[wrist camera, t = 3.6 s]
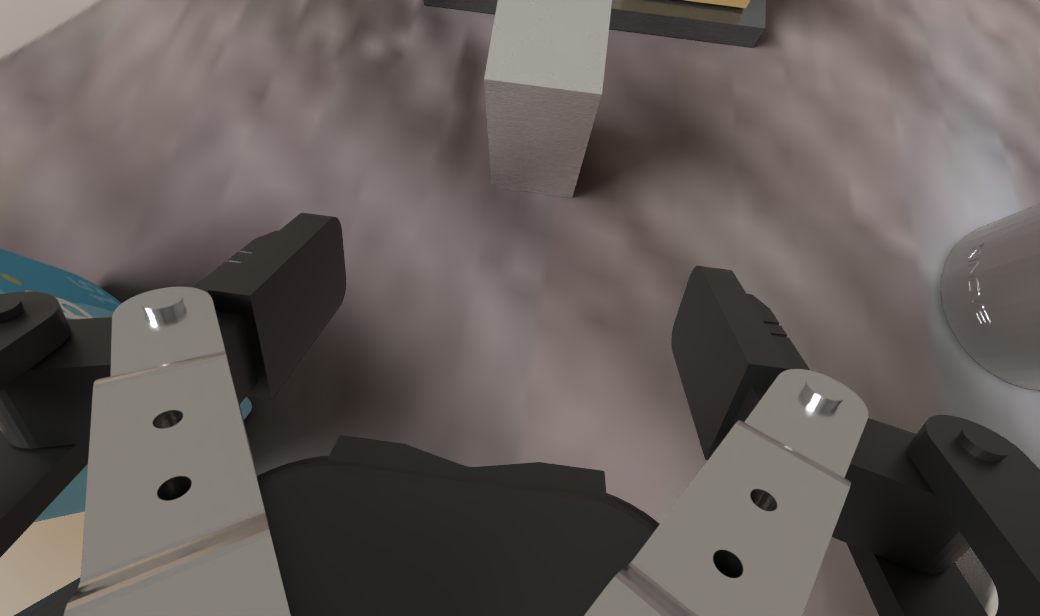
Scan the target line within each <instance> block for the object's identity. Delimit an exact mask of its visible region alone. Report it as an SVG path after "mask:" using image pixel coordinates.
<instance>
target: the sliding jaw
mask: <svg viewBox="0 0 1040 616" xmlns="http://www.w3.org/2000/svg"><path fill="white" fill-rule="evenodd" d="M686 1H693V2H701V3H709V4H717V5H724V6H732V7H740V8H746V7H747V5H748V4H749V2H750V0H686Z"/></svg>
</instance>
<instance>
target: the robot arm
mask: <svg viewBox="0 0 1040 616" xmlns="http://www.w3.org/2000/svg"><path fill="white" fill-rule="evenodd" d="M240 251H241V252H240V253H236V254H235V255H234V256H232V257H231V258H230V259H229V262H225V263H224V264H222V265H221V266H220V267H218V268H217V269H216V270H215V271H213V272H212V273H211V274H209V275H208V276H207V277H206V278H204V279H203V280H202V281H201V282H199V283H198V284H197V285H195V286H194V287H193V288H191V287H168V288H161V289H156V290H151V291H148V292H144V293H142V294H139V295H136V296H134V297H132V298H130V299H128V300H126V301H125V302H123V303H122V304H121V305H119V306H118V307H117V308H116V309H115V311H114V313H113V316H112V317H105V318H86V319H66V317H65V315H64V313H63V311H62V308H61V306H60V304H59V302H58V300H57V299H56V298H55V297H54V296H52V295H50V294H47V293H42V292H31V291H27V292H12V293H5V294H0V557H1V556H2V555H3V554H4V553H5V552H6V551H7V550H8V549H9V548H10V546H11V545H12V544H13V543H14V542H15V541H16V540H17V539H18V538H19V537H20V536H21V535H22V534H23V532H24V531H26V529H27V528H28V527H29V526H30V525H31V524H32V523H33V522H34V521H35V520H36V519H37V518H38V517H39V516H40V514H41V513H42V512H43V511H44V510H45V509H46V508H47V507H48V506H49V505H50V504H51V503H52V502H53V501H54V500H55V498H56V497H57V496H58V495H59V494H60V493H61V492H62V491H63V490H64V489H65V488H66V487H67V486H68V485H69V483H70V482H71V481H72V480H73V479H74V478H75V477H76V476H77V475H78V474H79V473H80V472H81V471H82V470H83V469H84V467H85V466H86V465H87V464H88V473H87V489H86V504H85V519H84V535H83V550H82V567H81V577H80V578H78V579H77V580H75V581H73V582H71V583H70V584H68V585H66V586H64V587H63V588H61V589H59V590H58V591H56V592H54V593H52V594H51V595H49V596H47V597H45V598H44V599H42V600H40V601H38V602H37V603H35V604H33V605H31V606H30V607H28V608H26V609H25V610H23V611H21V612H20V613H18V614H16V615H14V616H802V614H803V611H804V609H805V606H806V603H807V601H808V598H809V595H810V593H811V590H812V587H813V585H814V582H815V579H816V577H817V574H818V571H819V569H820V566H821V563H822V561H823V558H824V555H825V553H826V550H827V547H828V545H829V542H830V539H831V537H834V538H836V539H839V540H841V541H844V542H846V543H847V545H848V548H849V550H850V552H851V554H852V556H853V559H854V561H855V563H856V565H857V567H858V570H859V572H860V574H861V576H862V578H863V581H864V583H865V585H866V587H867V589H868V592H869V594H870V596H871V598H872V601H873V603H874V605H875V607H876V609H877V612H878V614H879V616H988V615H987V613H986V612H985V610H984V609H983V607H982V605H981V604H980V602H979V601H978V599H977V597H976V596H975V594H974V593H973V591H972V590H971V588H970V586H969V585H968V583H967V582H966V580H965V578H964V577H963V575H962V574H961V572H960V570H959V569H958V567H957V566H956V564H955V563H954V562H956V561H957V560H958V559H959V558H960V557H961V556H962V555H963V554H964V553H965V552H966V551H967V550H968V549H969V548H970V547H971V548H972V550H973V551H974V553H975V554H976V556H977V557H978V559H979V560H980V562H981V563H982V565H983V566H984V568H985V569H986V570H987V572H988V573H989V575H990V577H991V578H992V580H993V582H994V584H995V586H996V590H997V593H998V601H999V605H998V610H997V614H996V616H1040V470H1039V469H1038V468H1037V467H1036V465H1035V464H1034V463H1033V462H1032V461H1031V460H1030V459H1029V458H1028V457H1027V456H1026V455H1025V454H1024V453H1023V452H1022V451H1021V450H1020V449H1018V448H1017V447H1016V446H1015V445H1014V444H1012V443H1011V442H1009V441H1008V440H1007V439H1005V438H1004V437H1002V436H1000V435H999V434H997V433H995V432H993V431H992V430H990V429H988V428H986V427H984V426H981V425H979V424H977V423H974V422H972V421H969V420H966V419H963V418H959V417H954V416H948V415H937V416H932V417H930V418H929V419H928V420H927V421H926V422H925V424H924V425H923V426H922V428H921V429H920V430H919V432H918V433H917V434H914V433H911V432H908V431H905V430H902V429H899V428H896V427H893V426H890V425H887V424H884V423H881V422H878V421H875V420H872V419H869V418H868V415H869V414H868V409H867V407H866V405H865V404H864V402H863V401H862V400H861V398H860V397H859V396H858V395H857V394H856V393H854V392H853V391H852V390H851V389H849V388H848V387H847V386H845V385H844V384H842V383H840V382H839V381H837V380H835V379H833V378H831V377H828V376H826V375H824V374H821V373H818V372H814V371H810V369H809V368H808V366H807V365H806V363H805V362H804V360H803V359H802V357H801V356H800V354H799V353H798V351H797V349H796V348H795V346H794V345H793V343H792V342H791V340H790V339H789V338H787V334H786V333H785V331H784V330H783V328H782V327H781V326H779V322H778V321H777V319H776V317H775V316H774V314H773V313H772V311H771V310H770V308H768V307H767V306H766V305H765V304H763V303H762V302H761V301H759V300H758V299H757V298H756V297H754V296H753V295H750V294H746V292H745V291H744V289H743V288H742V286H741V284H740V283H739V281H738V279H737V278H736V276H735V274H734V273H733V272H732V271H731V270H725V269H717V268H710V267H702V266H696V267H695V268H694V269H693V271H692V273H691V275H690V277H689V280H688V283H687V286H686V289H685V292H684V295H683V298H682V301H681V304H680V307H679V310H678V313H677V316H676V319H675V323H674V326H673V331H672V351H673V355H674V358H675V361H676V364H677V368H678V371H679V374H680V378H681V381H682V384H683V388H684V391H685V394H686V397H687V401H688V404H689V407H690V411H691V414H692V417H693V421H694V424H695V427H696V430H697V434H698V437H699V440H700V444H701V447H702V450H703V454H704V457H705V460H708V461H707V462H706V464H705V465H704V466H703V468H702V469H701V470H700V471H699V473H698V474H697V475H696V477H695V478H694V479H693V481H692V482H691V483H690V485H689V486H688V487H687V489H686V490H685V491H684V493H683V494H682V495H681V497H680V498H679V499H678V501H677V502H676V503H675V505H674V506H673V507H672V509H671V510H670V511H669V513H668V514H667V515H666V517H665V518H664V519H663V521H662V522H661V523H660V524H659V523H658V522H657V521H655V520H654V519H653V518H651V517H650V516H649V515H647V514H646V513H645V512H643V511H641V510H640V509H638V508H636V507H635V506H633V505H632V504H630V503H628V502H626V501H624V500H622V499H620V498H617V497H615V496H613V495H610V494H608V493H606V486H605V474H604V471H600V470H592V469H585V468H577V467H570V466H563V465H555V464H548V463H541V462H537V463H524V464H511V465H498V466H485V467H467V466H463V465H460V464H457V463H455V462H452V461H449V460H447V459H444V458H441V457H438V456H436V455H433V454H430V453H428V452H425V451H422V450H419V449H417V448H414V447H411V446H409V445H406V444H400V443H393V442H386V441H378V440H371V439H363V438H356V437H349V436H341V435H340V436H339V438H338V440H337V442H336V444H335V446H334V448H333V450H332V452H331V454H330V456H320V457H315V458H309V459H304V460H300V461H296V462H292V463H288V464H285V465H283V466H280V467H277V468H274V469H272V470H269V471H267V472H265V473H263V474H261V475H257V471H256V467H255V463H254V459H253V455H252V451H251V447H250V443H249V439H248V435H247V431H246V428H245V424H244V420H243V416H242V412H241V408H240V404H241V403H242V401H243V400H244V399H245V398H246V396H249V397H256V398H263V399H271V400H272V399H273V398H274V396H275V395H276V393H277V392H278V391H279V389H280V388H281V387H282V385H283V384H284V382H285V381H286V380H287V378H288V377H289V376H290V374H291V373H292V371H293V370H294V369H295V367H296V366H297V365H298V363H299V362H300V360H301V359H302V358H303V356H304V355H305V354H306V352H307V351H308V349H309V348H310V347H311V345H312V344H313V343H314V341H315V340H316V338H317V337H318V336H319V334H320V333H321V332H322V330H323V329H324V327H325V326H326V325H327V323H328V322H329V320H330V319H331V318H332V316H333V315H334V314H335V312H336V311H337V309H338V308H339V307H340V305H341V303H342V301H343V299H344V295H345V290H346V272H345V261H344V250H343V238H342V228H341V224H340V221H339V220H338V218H336V217H330V216H323V215H315V214H308V213H301V214H299V215H298V216H297V217H295V218H294V219H293V220H292V221H291V222H289V223H288V224H287V225H286V226H284V227H283V228H282V229H281V230H280V231H274V232H272V233H269V234H267V235H264V236H261V237H259V238H256V239H254V240H253V241H252V242H250V243H249V244H248V245H247V246H245V247H244V248H243V249H241V250H240ZM941 298H942V304H943V310H944V313H945V315H946V318H947V321H948V323H949V326H950V328H951V330H952V331H953V333H954V335H955V336H956V338H957V340H958V341H959V343H960V345H961V346H962V347H963V348H964V349H965V350H966V351H967V353H968V354H969V355H970V356H971V357H972V358H973V359H974V360H975V361H976V362H977V363H978V364H980V365H981V366H982V367H983V368H985V369H986V370H987V371H988V372H990V373H991V374H993V375H995V376H997V377H999V378H1001V379H1002V380H1004V381H1006V382H1008V383H1011V384H1014V385H1017V386H1020V387H1023V388H1026V389H1034V390H1040V204H1037V205H1035V206H1033V207H1030V208H1028V209H1025V210H1023V211H1020V212H1018V213H1015V214H1013V215H1011V216H1008V217H1006V218H1003V219H1001V220H998V221H996V222H993V223H991V224H989V225H986V226H984V227H981V228H979V229H977V230H975V231H973V232H972V233H970V234H968V235H966V236H965V237H964V238H963V239H962V240H961V241H960V242H959V243H958V244H957V245H956V246H954V248H953V250H952V251H951V253H950V254H949V256H948V258H947V259H946V262H945V266H944V269H943V272H942V276H941Z"/></svg>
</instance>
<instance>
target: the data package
mask: <svg viewBox="0 0 1040 616" xmlns="http://www.w3.org/2000/svg"><path fill="white" fill-rule="evenodd" d="M27 291H31V292H42V293H47V294H50V295H52V296H54V297H55V298H56V299H57V300H58V302H59V304H60V306H61V308H62V311H63V313H64V315H65V317H66V319H86V318H105V317H112V316H113V313H114V311H115V309H116V308H117V307H118V306H119V305H121V304H122V303H121V302H120V301H118V300H117V299H116V298H114V297H113V296H112V295H110V294H109V293H107V292H106V291H104V290H103V289H101V288H100V287H98V286H96V285H95V284H93V283H91V282H89V281H87V280H85V279H83V278H81V277H79V276H77V275H75V274H73V273H70V272H68V271H65V270H62V269H59V268H56V267H53V266H50V265H47V264H44V263H41V262H38V261H35V260H32V259H29V258H26V257H23V256H21V255H18V254H15V253H12V252H9V251H6V250H3V249H0V294H5V293H12V292H27ZM240 408H241V412H242V416H243V420H244V419H245V418H246V417H247V415H248V414H249V413H250V412H251V410H252V404H251V402H250V400H249V399H248V398H247V397H246V398H245V399H244V400H243V401H242V403H241V404H240ZM87 473H88V464H87V465H86V466H85V467H84V469H83V470H82V471H81V472H80V473H79V474H78V475H77V476H76V477H75V478H74V479H73V480H72V481H71V482H70V483H69V485H68V486H67V487H66V488H65V489H64V490H63V491H62V492H61V493H60V494H59V495H58V496H57V497H56V498H55V500H54V501H53V502H52V503H51V504H50V505H49V506H48V507H47V508H46V509H45V510H44V511H43V512H42V513H41V514H40V516H39V517H38V518H37V519H36V520H35V521H34V522H37V521H42V520H46V519H51V518H56V517H60V516H65V515H69V514H73V513H79V512H83V511H85V504H86V489H87Z"/></svg>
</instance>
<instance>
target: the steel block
mask: <svg viewBox="0 0 1040 616" xmlns="http://www.w3.org/2000/svg"><path fill="white" fill-rule="evenodd" d="M611 5H612V0H498V2H497V8H496V13H495V19H494V25H493V31H492V37H491V43H490V49H489V55H488V61H487V66H486V72H485V78H484V81H485V96H486V110H487V124H488V139H489V153H490V167H491V181H492V187H494V188H502V189H509V190H517V191H524V192H532V193H539V194H547V195H554V196H562V197H570V198H572V197H573V193H574V190H575V186H576V183H577V179H578V176H579V172H580V169H581V166H582V162H583V159H584V155H585V152H586V148H587V145H588V141H589V138H590V134H591V131H592V127H593V124H594V120H595V117H596V113H597V110H598V106H599V103H600V99H601V96H602V88H603V79H604V70H605V61H606V52H607V42H608V33H609V24H610V15H611Z"/></svg>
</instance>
